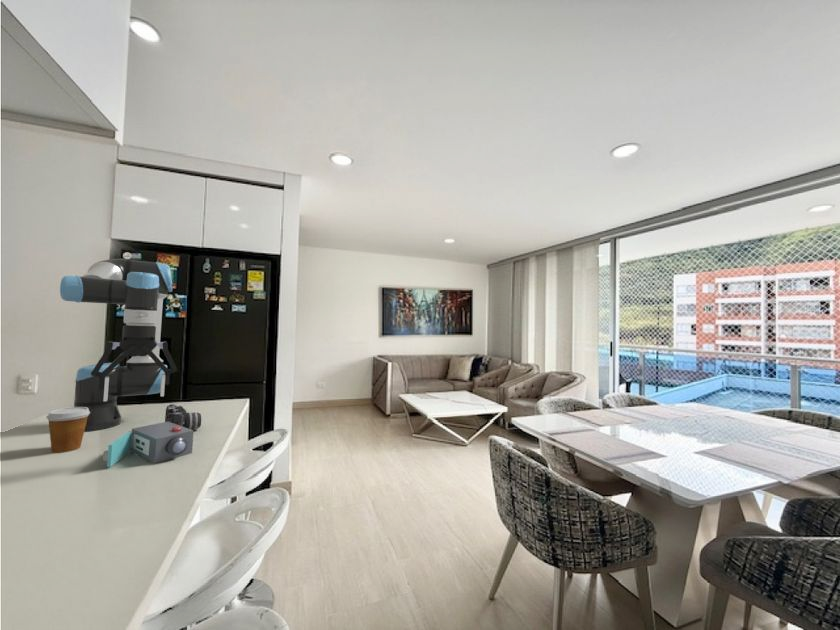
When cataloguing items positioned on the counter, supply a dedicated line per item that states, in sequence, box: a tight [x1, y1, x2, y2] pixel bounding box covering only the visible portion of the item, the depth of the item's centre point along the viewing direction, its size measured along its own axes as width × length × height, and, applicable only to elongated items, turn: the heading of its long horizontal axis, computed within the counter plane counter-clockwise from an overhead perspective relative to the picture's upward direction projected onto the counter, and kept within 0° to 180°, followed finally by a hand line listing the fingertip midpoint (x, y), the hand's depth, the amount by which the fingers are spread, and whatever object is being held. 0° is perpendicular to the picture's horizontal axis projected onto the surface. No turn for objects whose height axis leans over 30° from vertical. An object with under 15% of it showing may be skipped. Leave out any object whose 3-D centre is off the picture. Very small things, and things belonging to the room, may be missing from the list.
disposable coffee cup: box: [46, 406, 90, 453], centre depth 105 cm, size 10×10×12 cm
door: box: [102, 430, 132, 468], centre depth 99 cm, size 12×2×6 cm, turn 21°
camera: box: [164, 403, 202, 431], centre depth 124 cm, size 14×11×10 cm
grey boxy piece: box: [130, 421, 194, 464], centre depth 105 cm, size 18×10×8 cm, turn 61°
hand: (134, 398), depth 99 cm, fingers open, 12 cm apart
